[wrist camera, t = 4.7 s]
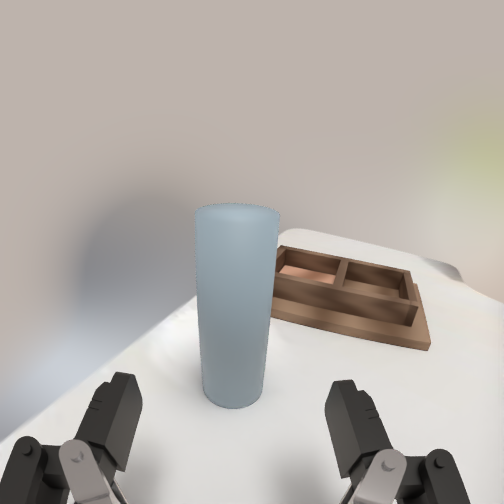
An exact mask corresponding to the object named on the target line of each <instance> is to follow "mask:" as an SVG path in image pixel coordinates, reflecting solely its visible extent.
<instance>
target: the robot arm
mask: <svg viewBox="0 0 504 504" xmlns="http://www.w3.org/2000/svg"><path fill="white" fill-rule="evenodd" d="M141 411H142V396H141V393H140V390H139V387H138V384H137V381H136V378H135V375H134V374H128V373H122V372H116V373H115V374H114V376H113V378H112V380H111V382H110V383H109V382H104V383H103V384H101V385H100V386H99V387H98V388H97V389H96V391H95V393H94V395H93V397H92V401H91V402H90V404H89V406H88V409H87V411H86V413H85V415H84V417H83V420H82V422H81V424H80V427H79V429H78V431H77V434H76V436H75V438H74V439H73V440H69V441H67V442H65V443H64V444H63V445H62V446H52V445H41V444H40V443H39V442H38V441H37V440H36V439H35V438H33V437H30V436H24V437H21V438H20V439H18V440H17V441H16V443H15V445H14V447H13V450H12V452H11V455H10V457H9V460H8V462H7V465H6V468H5V471H4V473H3V476H2V479H1V482H0V504H67V499H68V495H69V491H70V490H71V492H72V495H73V497H74V500H75V503H74V504H129V503H128V501H127V500H126V498H125V496H124V494H123V493H122V491H121V489H120V487H119V485H118V483H117V481H116V480H115V478H114V476H115V472H116V470H119V471H123V472H125V468H126V465H127V461H128V457H129V453H130V449H131V446H132V442H133V438H134V435H135V431H136V428H137V424H138V421H139V418H140V414H141ZM325 417H326V421H327V425H328V428H329V432H330V436H331V440H332V444H333V448H334V452H335V456H336V460H337V464H338V468H339V472H340V476H341V479H342V478H347V477H350V479H351V484H350V485H349V487H348V489H347V491H346V493H345V494H344V496H343V498H342V499H341V501H340V503H339V504H392V503H393V501H394V499H396V500H397V504H470V501H469V498H468V495H467V492H466V489H465V487H464V484H463V481H462V479H461V476H460V473H459V471H458V468H457V466H456V463H455V461H454V459H453V456H452V455H451V454H450V453H449V452H448V451H446V450H444V449H436V450H433V451H431V452H430V453H429V454H428V455H427V456H404V455H403V454H402V453H401V452H399V451H397V450H394V449H393V447H392V445H391V443H390V441H389V438H388V436H387V433H386V431H385V428H384V426H383V423H382V421H381V419H380V418H379V414H378V411H377V410H376V407H375V404H374V402H373V400H372V398H371V397H370V396H369V395H368V394H367V393H366V392H365V391H364V390H361V391H357V388H356V386H355V383H354V381H353V380H342V381H334V382H333V384H332V387H331V389H330V392H329V395H328V398H327V400H326V403H325Z"/></svg>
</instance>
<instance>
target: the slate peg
mask: <svg viewBox="0 0 504 504" xmlns="http://www.w3.org/2000/svg"><path fill="white" fill-rule="evenodd" d="M279 220H280V214H279V213H278V212H277V211H275V210H273V209H270V208H267V207H263V206H258V205H252V204H238V203H225V204H213V205H207V206H203V207H200V208H198V209H197V210H196V211H195V254H196V284H197V308H198V326H199V341H200V355H201V367H202V379H203V389H204V393H205V395H206V396H207V398H208V399H209V400H210V401H211V402H213V403H214V404H216V405H218V406H221V407H224V408H230V409H237V408H243V407H246V406H249V405H251V404H253V403H254V402H255V401H256V400H257V399H258V398H259V397H260V395H261V393H262V387H263V379H264V370H265V362H266V353H267V344H268V335H269V326H270V316H271V306H272V297H273V286H274V276H275V265H276V254H277V243H278V232H279Z"/></svg>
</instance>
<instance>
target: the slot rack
mask: <svg viewBox="0 0 504 504" xmlns="http://www.w3.org/2000/svg"><path fill="white" fill-rule="evenodd" d="M270 317H274V318H278V319H282V320H286V321H290V322H294V323H298V324H302V325H306V326H310V327H314V328H318V329H322V330H326V331H331V332H335V333H340V334H344V335H349V336H353V337H358V338H362V339H367V340H372V341H377V342H382V343H387V344H392V345H398V346H403V347H408V348H414V349H420V350H426V351H428V349H429V347H430V344H431V340H430V335H429V330H428V326H427V321H426V317H425V313H424V309H423V305H422V301H421V297H420V294H419V290H418V286H417V284H415V283H413V281H412V278H411V274H410V271H407V270H402V269H397V268H393V267H388V266H383V265H378V264H373V263H368V262H363V261H358V260H353V259H348V258H343V257H338V256H333V255H328V254H323V253H318V252H313V251H308V250H303V249H297V248H292V247H287V246H282V245H281V246H280V247H279V248H278V249H277V254H276V265H275V276H274V286H273V297H272V306H271V316H270Z"/></svg>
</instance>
